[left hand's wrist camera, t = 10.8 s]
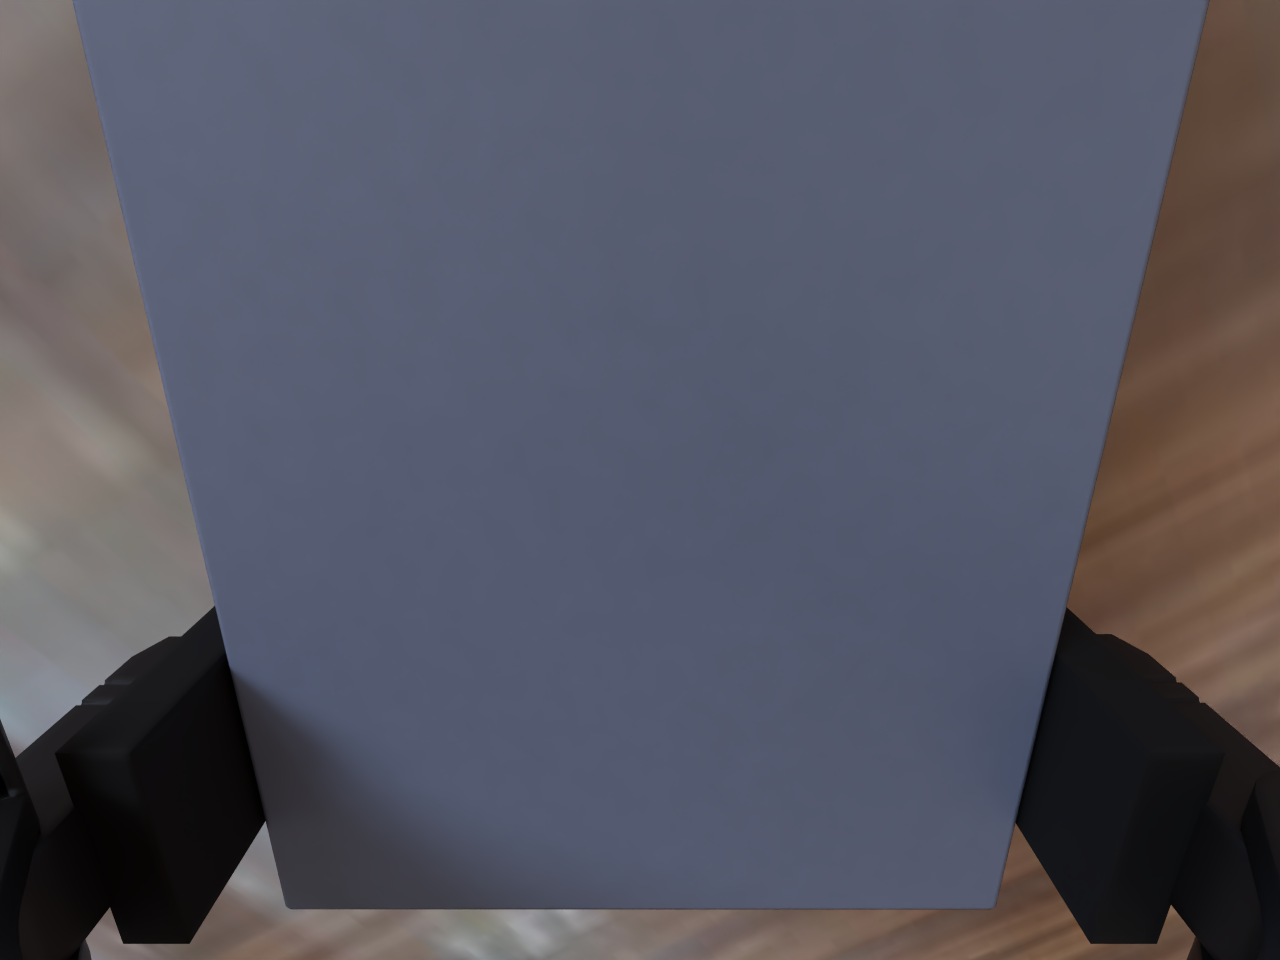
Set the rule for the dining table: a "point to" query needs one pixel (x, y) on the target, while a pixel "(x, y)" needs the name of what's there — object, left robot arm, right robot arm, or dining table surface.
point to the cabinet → (640, 419)
